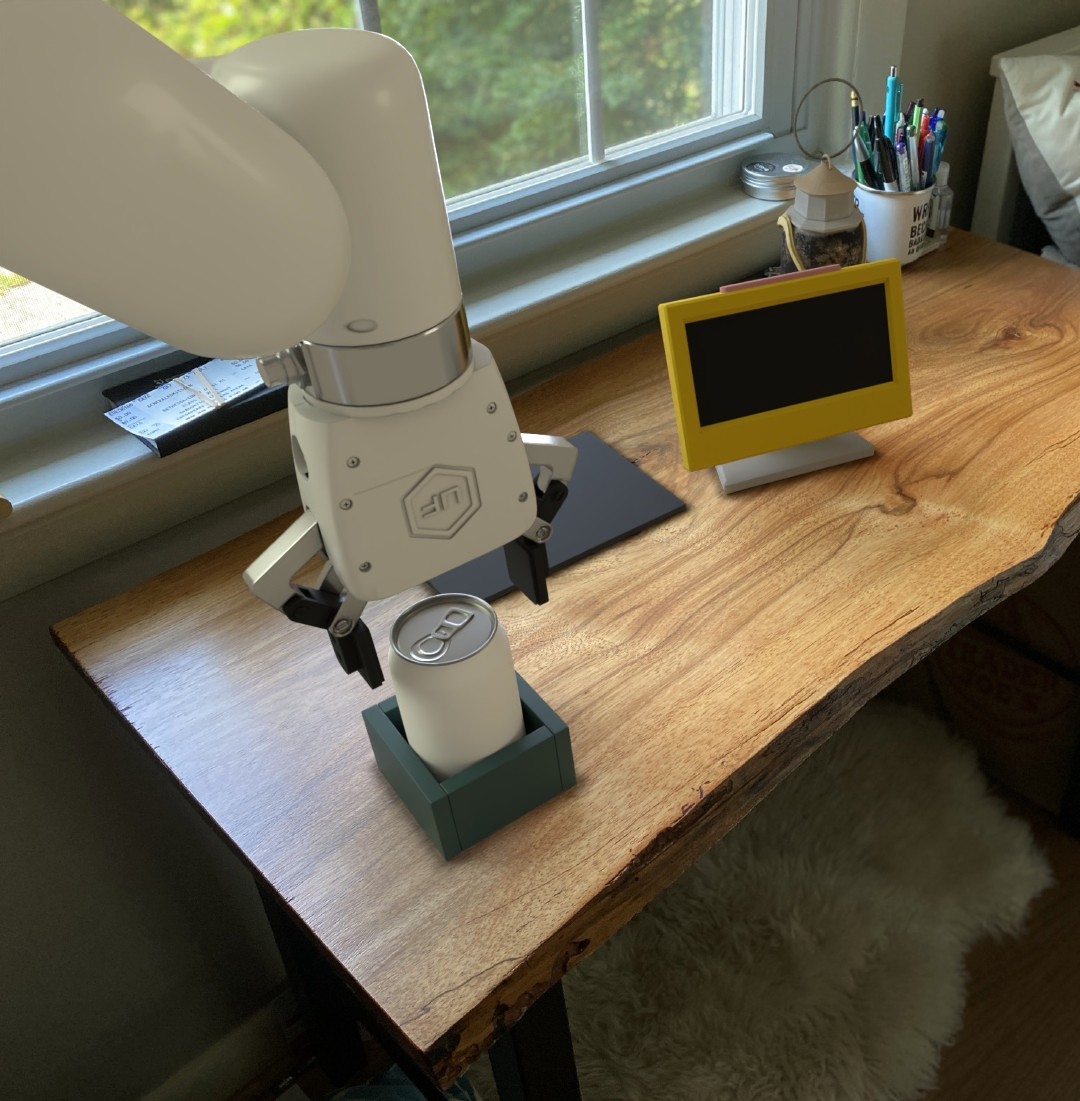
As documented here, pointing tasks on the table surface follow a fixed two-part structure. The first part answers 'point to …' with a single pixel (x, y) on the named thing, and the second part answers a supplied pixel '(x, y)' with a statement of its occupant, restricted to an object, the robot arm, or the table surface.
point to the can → (454, 682)
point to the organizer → (476, 775)
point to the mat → (576, 519)
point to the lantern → (823, 214)
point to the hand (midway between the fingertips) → (451, 630)
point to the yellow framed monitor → (787, 370)
